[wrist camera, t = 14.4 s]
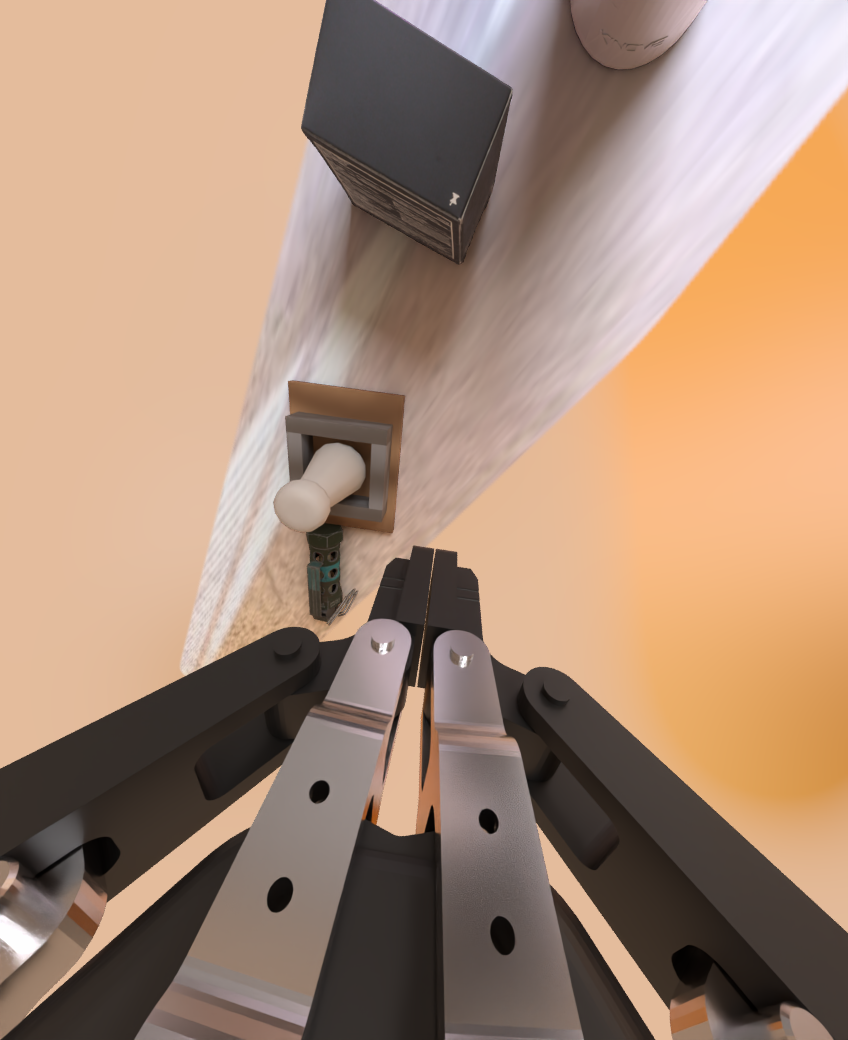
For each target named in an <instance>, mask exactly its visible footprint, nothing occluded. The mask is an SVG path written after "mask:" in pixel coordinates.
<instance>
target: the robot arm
mask: <svg viewBox="0 0 848 1040" xmlns="http://www.w3.org/2000/svg"><path fill="white" fill-rule="evenodd" d="M707 1H708V0H570V4H571V13H572V17H573V22H574V26H575V30H576V32H577V34H578V37H579V39H580V41H581V43H582V45H583V47H584V48H585V49H586V50H587V52H588V53H589V54H590V55H591V57H592V58H593V59H595V60H596V61H598V62H599V63H601V64H602V65H604V66H607V67H610V68H614V69H633V68H636V67H639V66H642V65H645V64H647V63H649V62H651V61H652V60H654V59H655V58H657V57H659V56H660V55H662V54H663V53H664V52H665V51H667V50H668V49H669V48H670V47H671V46H672V45H673V44H674V43H675V42H676V41H678V39H679V38H680V37H681V36H682V34H683V33H684V32H685V31H686V29H687V28H688V27H689V26H690V25H691V23H692V22H693V20H694V19H695V18H696V16H697V15H698V13H699V12H700V11H701V9H702V8H703V6H704V5H705V4H706V2H707ZM433 554H434V549H432V548H427V547H420V546H413V549H412V553H411V557H410V560H408V559H401V558H395V559H394V560H392V561H391V562H390V563H389V564H388V565H387V566H386V569H385V572H384V575H383V578H382V580H381V583H380V587H379V589H378V593H377V595H376V598H375V601H374V604H373V607H372V610H371V613H370V616H369V619H368V622H367V623H365V624H364V625H362V626H361V627H360V628H359V630H358V631H357V632H356V634H355V635H353V636H351V637H349V638H345V639H342V640H335V641H326V642H319V639H318V637H317V636H316V634H314V633H313V632H312V631H310V630H308V629H306V628H301V627H288V628H283V629H280V630H277V631H275V632H273V633H271V634H269V635H267V636H265V637H263V638H261V639H259V640H257V641H255V642H253V643H251V644H249V645H247V646H245V647H243V648H241V649H239V650H237V651H235V652H233V653H231V654H229V655H227V656H225V657H223V658H221V659H219V660H217V661H215V662H213V663H211V664H209V665H207V666H205V667H203V668H201V669H199V670H197V671H195V672H193V673H191V674H189V675H187V676H185V677H183V678H181V679H179V680H177V681H175V682H173V683H171V684H169V685H167V686H165V687H163V688H161V689H159V690H157V691H155V692H153V693H151V694H149V695H147V696H145V697H143V698H141V699H139V700H137V701H135V702H133V703H131V704H129V705H127V706H125V707H123V708H121V709H119V710H117V711H115V712H113V713H111V714H109V715H107V716H105V717H103V718H101V719H99V720H97V721H95V722H93V723H91V724H89V725H87V726H85V727H83V728H81V729H79V730H77V731H75V732H73V733H71V734H69V735H67V736H65V737H63V738H61V739H59V740H57V741H55V742H53V743H51V744H49V745H47V746H45V747H43V748H41V749H39V750H37V751H35V752H33V753H31V754H29V755H27V756H25V757H23V758H21V759H19V760H17V761H15V762H13V763H11V764H9V765H7V766H5V767H3V768H1V769H0V1040H655V1039H654V1037H653V1035H652V1034H651V1032H650V1031H649V1029H648V1027H647V1026H646V1024H645V1023H644V1021H643V1020H642V1018H641V1017H640V1015H639V1013H638V1012H637V1010H636V1009H635V1007H634V1006H633V1004H632V1002H631V1001H630V999H629V998H628V996H627V994H626V993H625V991H624V990H623V988H622V987H621V985H620V983H619V982H618V980H617V979H616V977H615V976H614V974H613V972H612V971H611V969H610V968H609V966H608V965H607V963H606V961H605V960H604V958H603V957H602V955H601V954H600V952H599V950H598V949H597V947H596V946H595V944H594V942H593V941H592V939H591V938H590V936H589V935H588V933H587V932H586V930H585V928H584V927H583V925H582V924H581V922H580V921H579V919H578V918H577V916H576V915H575V914H574V912H573V911H572V910H571V908H570V907H569V906H568V905H567V903H566V902H565V901H564V899H563V898H562V897H561V896H560V895H559V894H558V893H557V891H556V890H555V889H554V888H553V887H552V886H551V885H550V884H549V880H548V875H547V871H546V866H545V862H544V857H543V853H542V848H541V843H540V839H539V834H538V830H537V825H536V823H537V824H538V826H539V827H540V828H541V830H542V831H543V833H544V834H545V835H546V837H547V838H548V839H549V841H550V842H551V844H552V845H553V847H554V848H555V850H556V851H557V852H558V854H559V855H560V857H561V858H562V859H563V861H564V862H565V864H566V865H567V866H568V868H569V869H570V871H571V872H572V873H573V875H574V876H575V878H576V879H577V881H578V882H579V883H580V885H581V886H582V888H583V889H584V890H585V892H586V893H587V895H588V896H589V897H590V899H591V900H592V902H593V903H594V904H595V906H596V907H597V909H598V910H599V912H600V913H601V914H602V916H603V917H604V919H605V920H606V921H607V923H608V924H609V926H610V927H611V928H612V930H613V931H614V933H615V934H616V935H617V937H618V938H619V940H620V941H621V942H622V944H623V945H624V947H625V948H626V949H627V951H628V952H629V954H630V955H631V957H632V958H633V959H634V961H635V962H636V963H637V965H638V966H639V968H640V969H641V971H642V972H643V974H644V975H645V976H646V978H647V979H648V981H649V982H650V983H651V985H652V986H653V988H654V989H655V990H656V992H657V993H658V995H659V996H660V997H661V999H662V1000H663V1002H664V1003H665V1004H666V1006H667V1007H668V1009H669V1010H670V1026H671V1033H672V1038H673V1040H848V933H847V932H846V931H845V930H844V929H843V928H842V927H841V926H840V925H838V924H837V923H836V922H835V921H834V920H833V919H832V918H831V917H830V916H829V915H828V914H826V913H825V912H824V911H823V910H822V909H821V908H820V907H819V906H818V905H817V904H816V903H814V901H812V900H811V899H810V898H809V897H808V896H807V895H806V894H805V893H804V892H803V891H802V890H800V889H799V888H798V887H797V886H796V885H795V884H794V883H793V882H792V881H791V880H789V879H788V878H787V877H786V876H785V875H784V874H783V873H782V872H781V871H780V870H779V869H777V867H776V866H774V865H773V864H772V863H771V862H770V861H769V860H768V859H767V858H766V857H765V856H764V855H762V854H761V853H760V852H759V851H758V850H757V849H756V848H755V847H754V846H753V845H752V844H750V843H749V842H748V841H747V840H746V839H745V838H744V837H743V836H742V835H741V834H740V833H739V832H738V831H736V830H735V829H734V828H733V827H732V826H731V825H730V824H729V823H728V822H727V821H726V820H724V819H723V818H722V817H721V816H720V815H719V814H718V813H717V812H716V811H715V810H713V809H712V808H711V807H710V806H709V805H708V804H707V803H706V802H705V801H704V800H702V798H701V797H699V796H698V795H697V794H696V793H695V792H694V791H693V790H692V789H691V788H690V787H689V786H688V785H686V784H685V783H684V782H683V781H682V780H681V779H680V778H679V777H678V776H677V775H676V774H675V773H673V772H672V771H671V770H670V769H669V768H668V767H667V766H666V765H665V764H664V763H663V762H661V761H660V760H659V759H658V758H657V757H656V756H655V755H654V754H653V753H652V752H651V751H650V750H648V749H647V748H646V747H645V746H644V745H643V744H642V743H641V742H640V741H639V740H638V739H637V738H635V737H634V736H633V735H632V734H631V733H630V732H629V731H628V730H627V729H625V728H624V727H623V726H622V725H621V724H620V723H619V722H618V721H617V720H616V719H615V718H614V717H613V716H611V715H610V714H609V713H608V712H607V711H606V710H605V709H604V708H603V707H602V706H601V705H600V704H599V703H597V702H596V701H595V700H594V699H593V698H592V697H591V696H590V695H589V694H588V693H587V692H585V691H584V690H583V689H582V688H581V687H580V686H579V685H578V684H577V683H576V682H574V680H572V679H571V678H570V677H569V676H567V675H566V674H564V673H562V672H560V671H558V670H555V669H552V668H548V667H537V668H534V669H532V670H530V671H529V672H528V673H527V674H526V675H524V674H522V673H520V672H518V671H516V670H513V669H511V668H509V667H507V666H505V665H503V664H501V663H500V662H498V661H497V660H496V659H495V658H493V656H492V655H491V654H490V653H489V650H488V648H487V646H486V645H485V644H484V642H483V636H482V624H481V612H480V602H479V592H478V591H479V588H478V579H477V577H476V576H475V574H474V573H473V572H472V570H471V569H467V568H461V567H457V552H454V551H447V550H440V549H436V552H435V558H434V564H433V571H432V562H433ZM431 571H432V577H431ZM430 579H431V584H430ZM429 586H430V590H429ZM428 595H429V597H428ZM427 603H428V605H427ZM426 611H427V613H426ZM425 619H426V621H425ZM424 626H425V629H424ZM423 633H424V637H423ZM422 639H423V645H422ZM421 645H422V654H421V662H420V670H419V678H418V686H417V687H420V688H425V693H424V702H423V708H422V714H421V735H420V771H419V802H418V813H417V823H416V834H415V835H409V836H396V835H393V834H391V833H390V832H388V831H386V830H384V829H382V828H380V827H379V826H377V825H376V824H377V819H378V815H379V809H380V804H381V799H382V794H383V789H384V785H385V780H386V776H387V772H388V768H389V764H390V760H391V756H392V751H393V747H394V743H395V739H396V735H397V730H398V726H399V722H400V718H401V713H402V710H403V708H404V705H405V702H406V696H407V689H408V686H413V687H415V683H416V677H417V670H418V664H419V658H420V652H421ZM281 765H282V766H281ZM280 766H281V768H280V770H279V772H278V774H277V776H276V778H275V780H274V782H273V784H272V786H271V788H270V790H269V792H268V794H267V796H266V798H265V800H264V802H263V804H262V806H261V808H260V810H259V812H258V814H257V816H256V818H255V820H254V822H253V824H252V826H251V827H250V828H248V829H246V830H244V831H243V832H241V833H239V834H237V835H236V836H234V837H232V838H230V839H229V840H228V841H226V842H225V843H224V844H222V845H221V846H219V847H218V848H217V849H215V850H214V851H213V852H212V853H210V854H209V855H208V856H207V857H206V858H204V859H203V860H202V861H201V862H200V863H199V864H198V865H197V866H195V867H194V868H193V869H192V870H191V871H190V872H189V873H188V874H187V875H185V876H184V877H183V878H182V879H181V880H180V881H178V882H177V883H176V884H175V885H174V886H173V887H172V888H171V889H169V890H168V891H167V892H166V893H165V894H164V895H163V896H162V897H161V898H159V899H158V900H157V901H156V902H155V903H154V904H153V905H152V906H150V907H149V908H148V909H147V910H146V911H145V912H144V913H142V914H141V915H140V916H139V917H138V918H137V919H136V920H135V921H134V922H132V923H131V924H130V925H129V926H128V927H127V928H126V929H124V931H122V932H121V933H120V934H119V935H118V936H117V937H116V938H114V939H113V940H112V941H111V942H110V943H109V944H108V945H107V946H105V947H104V948H103V949H102V950H101V951H100V952H99V953H98V954H96V955H95V956H94V957H93V958H92V959H91V960H90V961H89V962H87V963H86V964H85V965H84V966H83V967H82V968H81V969H80V970H78V971H77V972H76V973H75V974H74V975H73V976H72V977H71V978H69V979H68V980H67V981H66V982H65V983H64V984H63V985H62V986H60V987H59V988H58V989H57V990H56V991H55V992H54V993H53V994H52V995H50V996H49V997H48V998H47V999H46V1000H45V1001H44V1002H42V1003H41V1004H40V1005H39V1006H38V1007H37V1008H36V1009H35V1010H33V1011H32V1012H31V1013H30V1014H29V1015H28V1016H27V1017H26V1018H25V1016H26V1015H27V1014H28V1013H29V1011H30V1010H31V1009H32V1008H33V1007H34V1006H35V1005H36V1003H37V1002H38V1001H39V1000H40V999H41V998H42V997H43V996H44V995H45V994H46V993H47V992H48V991H49V990H50V989H51V988H52V987H53V986H54V985H55V984H56V983H57V982H58V981H59V980H60V979H61V978H62V977H63V976H64V975H65V974H66V973H67V972H68V971H69V970H70V969H71V967H72V966H73V965H74V964H75V963H76V962H77V961H78V960H79V958H80V957H81V955H82V954H83V952H84V951H85V949H86V948H87V946H88V944H89V943H90V941H91V940H92V938H93V936H94V934H95V932H96V930H97V928H98V927H99V924H100V922H101V919H102V917H103V914H104V911H105V907H106V903H107V902H108V901H109V900H111V899H112V898H113V897H115V896H116V895H117V894H118V893H120V892H121V891H122V890H124V889H125V888H126V887H127V886H129V885H130V884H131V883H132V882H134V881H135V880H136V879H137V878H139V877H140V876H141V875H142V874H144V873H145V872H146V871H148V870H149V869H150V868H151V867H153V866H154V865H155V864H157V863H158V862H159V861H160V860H162V859H163V858H164V857H165V856H167V855H168V854H169V853H171V852H172V851H173V850H174V849H175V848H177V847H178V846H179V845H181V844H182V843H183V842H184V841H186V840H187V839H188V838H189V837H191V836H192V835H193V834H195V833H196V832H197V831H198V830H200V829H201V828H202V827H204V826H205V825H206V824H207V823H209V822H210V821H211V820H212V819H214V818H215V817H216V816H217V815H219V814H220V813H221V812H223V811H224V810H225V809H226V808H228V807H229V806H230V805H231V804H233V803H234V802H235V801H237V800H238V799H239V798H240V797H242V796H243V795H244V794H245V793H247V792H248V791H249V790H251V789H252V788H253V787H254V786H256V785H257V784H258V783H259V782H261V781H262V780H263V779H264V778H266V777H267V776H268V775H270V774H271V773H272V772H273V771H275V770H276V769H277V768H278V767H280Z"/></svg>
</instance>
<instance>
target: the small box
mask: <svg viewBox="0 0 848 1040" xmlns="http://www.w3.org/2000/svg"><path fill="white" fill-rule="evenodd" d="M512 91H513V89H512V88H511V87H510V86H508V85H507V84H505V83H503V82H502V81H500V80H499V79H497V78H496V77H494V76H493V75H491V74H490V73H488V72H486V71H485V70H483V69H482V68H480V67H478V66H477V65H475V64H474V63H472V62H470V61H469V60H467V59H466V58H464V57H463V56H461V55H459V54H458V53H456V52H455V51H453V50H452V49H450V48H448V47H447V46H445V45H444V44H442V43H441V42H439V41H437V40H436V39H434V38H433V37H431V36H429V35H428V34H426V33H425V32H423V31H421V30H420V29H418V28H417V27H415V26H414V25H412V24H411V23H409V22H408V21H406V20H405V19H403V18H402V17H400V16H399V15H397V14H395V13H394V12H392V11H391V10H389V9H388V8H386V7H385V6H383V5H382V4H380V3H378V2H377V1H375V0H326V4H325V9H324V14H323V19H322V24H321V29H320V34H319V39H318V44H317V48H316V53H315V59H314V65H313V69H312V74H311V79H310V83H309V89H308V94H307V99H306V104H305V109H304V114H303V120H302V126H301V129H302V131H303V133H304V134H305V136H306V137H307V138H308V139H309V140H310V141H311V142H312V144H313V145H314V147H316V149H317V150H318V152H319V153H320V155H321V156H322V157H323V158H324V160H325V162H326V163H327V165H328V166H329V168H330V169H331V171H332V172H333V174H334V175H335V177H336V178H337V180H338V181H339V183H340V184H341V186H342V187H343V189H344V190H345V192H346V193H347V195H348V197H349V198H350V200H351V202H352V204H353V205H355V206H357V207H359V208H361V209H362V210H364V211H365V212H367V213H369V214H371V215H373V216H374V217H376V218H378V219H380V220H381V221H383V222H385V223H386V224H388V225H390V226H392V227H393V228H395V229H397V230H398V231H400V232H402V233H404V234H406V235H408V236H409V237H411V238H413V239H414V240H416V241H417V242H419V243H421V244H423V245H425V246H427V247H428V248H430V249H432V250H433V251H435V252H437V253H439V254H441V255H443V256H445V257H446V258H448V259H450V260H452V261H454V262H455V263H457V264H460V263H462V262H463V261H464V258H465V256H466V251H467V248H468V246H469V245H470V241H471V240H472V238H473V233H474V232H475V229H476V227H477V224H478V222H479V221H480V217H481V215H482V213H483V210H484V209H485V208H486V205H487V203H488V199H489V197H490V194H491V190H492V188H493V186H494V182H495V177H496V171H497V166H498V161H499V157H500V151H501V146H502V141H503V136H504V132H505V127H506V122H507V116H508V111H509V106H510V101H511V98H512Z"/></svg>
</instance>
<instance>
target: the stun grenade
mask: <svg viewBox="0 0 848 1040" xmlns="http://www.w3.org/2000/svg"><path fill="white" fill-rule="evenodd" d="M306 535H307V541H308V544H309V548H310V563H309V564H308V565H307V574H308V591H309V607H310V614H309V615H312V616H313V618H314V619H317V620H321V621H325V622H327V624H328V623H329V622H330V621H331V622H330V623H329V625H330V624H331V623H332V622H333V621H334V619H335V618H336V617H337V615H338V614H341V613H343V612H344V611H345V610H346V608H347V606H348V604H349V602H350V600H351V598H352V597H353V596H354V595H355V596H354V598H353V600H352V602H351V604H350V606H349V607H348V609H347V611H346V612H345V613H344V614H341V615H338V616H342V615H345V614H346V613H347V612H348V610H349V608H350V607H351V605H352V603H353V601H354V599H355V597H356V595H357V593H358V591H356V592H355V593H354V591H355V588H354V589H353V590H352V591H351V592H350V593H349V594H348V596H349V595H350V594H351V593H352V592H353V593H352V595H351V597H350V598H349V600H348V596H347V597H346V596H345V598H344V600H343V602H342V590H341V586H340V582H339V580H340V567H339V565H340V551H339V548H340V542H341V541H343V530H342V527H341V525H335V524H328V523H324V524H323V525H321V526H320V527H318V528H317V529H315V530H313V531H312V532H306ZM318 556H319V561H317V560H316V558H317V557H318ZM331 556H333V557H334V560H331ZM331 571H333V572H334V576H333V577H331ZM333 584H336V589H335V590H332V585H333ZM347 600H348V601H347ZM341 602H342V603H341ZM344 602H345V603H344ZM347 602H348V603H347ZM340 603H341V604H340ZM343 603H344V604H343ZM338 604H340V605H339V606H338ZM342 604H343V606H342ZM346 604H347V605H346ZM345 605H346V607H345V609H344V610H343V612H340V611H341V610H342V608H343V607H344V606H345ZM341 606H342V607H341ZM340 607H341V608H340ZM339 608H340V609H339ZM336 609H337V610H336ZM338 610H339V611H338ZM337 611H338V612H337ZM339 612H340V613H339ZM335 614H336V615H335ZM334 615H335V616H334ZM332 618H333V619H332Z"/></svg>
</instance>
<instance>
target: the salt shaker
mask: <svg viewBox="0 0 848 1040" xmlns="http://www.w3.org/2000/svg"><path fill="white" fill-rule="evenodd" d="M365 477H366V468H365V463H364V461H363V459H362V457H361V455H360V454H359V453H358V452H357V451H356V450H355V449H354V448H353V447H351V446H349V445H346V444H342V443H339V442H338V443H330V444H325V445H324V446H322V447H321V448H320V449H319V450H317V451H316V453H315V454H314V456H313V458H312V460H311V462H310V463H309V465H308V467H307V469H306V471H305V472H304V474H303V476H302V478H301V479H300V480H292V481H290V482H289V483H287V484H286V485H285V486H283V487H282V488H281V489H280V490H279V491H278V492H277V494H276V497H275V499H274V502H273V503H274V509H275V513H276V515H277V517H278V518H279V520H280V521H281V523H283V524H284V525H285V526H287V527H288V528H289V529H291V530H294V531H298V532H301V533H303V532H312V531H313V530H315V529H317V528H318V527H320V526H321V525H323V524H324V523H325V521H326V519H327V517H328V515H329V513H330V507H332V506H334V505H335V504H337V503H338V502H340V501H341V500H343V499H344V498H346V497H347V496H349V495H351V494H352V493H354V492H355V491H357V490H358V489H360V487H361V485H362V483H363V481H364V480H365Z"/></svg>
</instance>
